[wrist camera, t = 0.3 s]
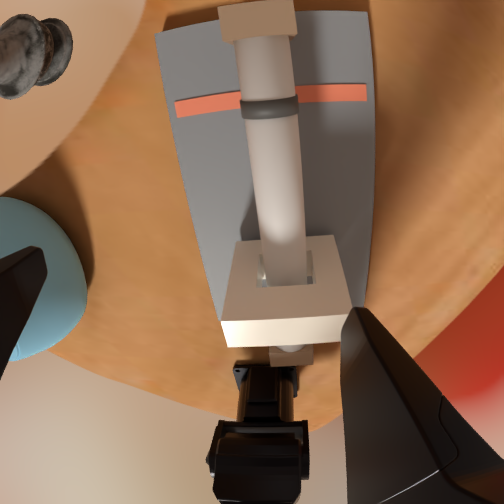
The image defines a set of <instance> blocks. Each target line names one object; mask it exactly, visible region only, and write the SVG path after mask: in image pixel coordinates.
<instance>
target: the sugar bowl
mask: <svg viewBox="0 0 504 504" xmlns="http://www.w3.org/2000/svg"><path fill="white" fill-rule="evenodd" d="M28 246H36V247H40V248H41V249H42V250H43V252H44V257H45V261H46V265H47V270H48V274H47V278H46V280H45V283H44V285H43V287H42V289H41V292H40V294H39V296H38V298H37V301H36V303H35V306H34V308H33V310H32V313H31V315H30V317H29V319H28V321H27V323H26V325H25V327H24V329H23V331H22V333H21V335H20V337H19V340H18V342H17V344H16V346H15V348H14V350H13V352H12V354H11V357H10V359H9V361H17V360H20V359H24V358H26V357H29V356H32V355H34V354H37V353H39V352H41V351H44V350H46V349H48V348H50V347H52V346H53V345H55V344H56V343H58V342H59V341H60V340H62V339H63V338H64V337H65V336H66V335H67V334H69V333H70V332H71V330H72V329H73V328H74V327H75V326H76V325H77V323H78V322H79V321H80V319H81V317H82V316H83V314H84V312H85V308H86V304H87V285H86V280H85V276H84V271H83V268H82V265H81V262H80V259H79V256H78V254H77V252H76V250H75V248H74V246H73V244H72V242H71V240H70V239H69V238H68V236H67V235H66V233H65V232H64V231H63V229H62V228H61V227H60V226H59V225H58V224H57V223H56V222H55V220H53V219H52V218H51V217H50V216H49V215H48V214H46V213H45V212H44V211H42V210H41V209H39V208H37V207H36V206H33V205H32V204H29V203H27V202H25V201H22V200H18V199H15V198H11V197H0V259H1V258H3V257H5V256H7V255H10V254H12V253H14V252H16V251H19V250H21V249H23V248H26V247H28Z"/></svg>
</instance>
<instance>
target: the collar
mask: <svg viewBox="0 0 504 504" xmlns="http://www.w3.org/2000/svg"><path fill="white" fill-rule="evenodd" d="M306 257H307V276H312V280H313V284H308V285H293V286H277V287H262V279H266V276H265V268H264V261H263V253H262V245H261V240H250V241H237V242H236V244H235V249H234V254H233V259H232V265H231V270H230V275H229V280H228V285H227V291H226V296H225V301H224V306H223V312H222V317H221V324H222V328H223V331H224V335H225V338H226V342H227V345H228V347H256V346H281V345H299V344H314V343H327V342H339V341H341V329H342V327H343V324H344V322H345V320H346V318H347V316H348V314H349V312H350V310H351V309H352V304H351V299H350V295H349V291H348V287H347V283H346V279H345V276H344V272H343V268H342V264H341V260H340V257H339V253H338V249H337V246H336V242H335V239H334V235H322V236H307V237H306Z"/></svg>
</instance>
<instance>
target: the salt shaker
mask: <svg viewBox="0 0 504 504" xmlns="http://www.w3.org/2000/svg"><path fill="white" fill-rule="evenodd" d="M72 50H73V40H72V35H71V32H70V30H69V28H68V26H67V25H66V24H65V23H64V22H63V21H61V20H59V19H56V18H48V19H45V20H42V21H39V20H37V19H36V18H35V17H34V16H31V15H28V14H18V15H16V16H14V17H11V18H10V19H9V20H7V21H6V22H5V23H3V24H2V26H1V27H0V97H2V98H4V99H10V100H11V99H16V98H19V97H21V96H22V95H24V94H26V93H27V92H28V91H29V90H30V89H31V88H32V87H33V86H34V85H37V86H44V85H49V84H50V83H52V82H54V81H56V80H57V79H58V78H59V77H60V76H61V75H62V74H63V72H64V71H65V69H66V68H67V66H68V63H69V61H70V59H71V54H72Z"/></svg>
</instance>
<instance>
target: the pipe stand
mask: <svg viewBox="0 0 504 504" xmlns="http://www.w3.org/2000/svg"><path fill="white" fill-rule="evenodd" d="M217 8H218V15H219V20H214V21H208V22H203V23H198V24H193V25H189V26H184V27H180V28H175V29H171V30H167V31H163V32H160V33H156V34H155V40H156V46H157V52H158V58H159V64H160V70H161V75H162V81H163V86H164V91H165V97H166V102H167V107H168V112H169V117H170V122H171V127H172V132H173V137H174V142H175V146H176V151H177V156H178V160H179V165H180V169H181V174H182V178H183V183H184V187H185V191H186V196H187V200H188V204H189V209H190V213H191V217H192V221H193V225H194V229H195V233H196V237H197V241H198V245H199V249H200V253H201V257H202V261H203V265H204V269H205V273H206V276H207V280H208V284H209V288H210V291H211V295H212V299H213V302H214V306H215V310H216V313H217V317H218V320H219V321H221V317H222V312H223V306H224V301H225V296H226V291H227V285H228V280H229V275H230V270H231V265H232V259H233V254H234V249H235V244H236V242H237V241H250V240H261V245H262V253H263V261H264V268H265V276H266V279H262V287H277V286H293V285H308V284H313V280H312V276H307V257H306V237H307V236H322V235H334V239H335V242H336V246H337V249H338V253H339V257H340V260H341V264H342V268H343V272H344V276H345V279H346V283H347V287H348V291H349V295H350V299H351V304H352V308H353V307H355V306H357V307H364V300H365V292H366V284H367V276H368V267H369V257H370V246H371V235H372V221H373V205H374V184H375V99H374V78H373V63H372V50H371V40H370V30H369V21H368V13H367V12H360V11H294V4H293V0H264V1H255V2H246V3H239V4H232V5H225V6H219V7H217ZM313 353H314V350H313V344H299V345H281V346H269V358H270V365H271V367H279V366H299V365H313Z"/></svg>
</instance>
